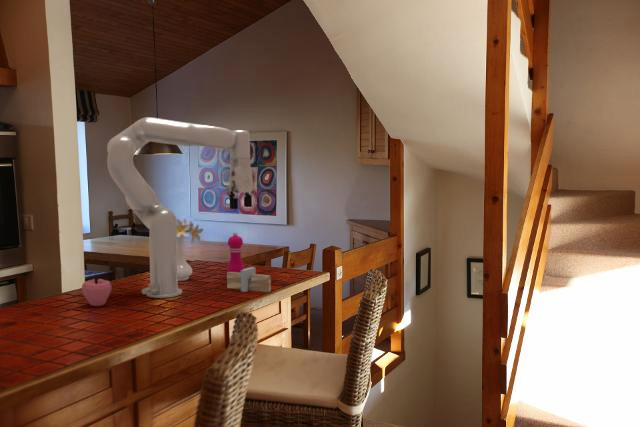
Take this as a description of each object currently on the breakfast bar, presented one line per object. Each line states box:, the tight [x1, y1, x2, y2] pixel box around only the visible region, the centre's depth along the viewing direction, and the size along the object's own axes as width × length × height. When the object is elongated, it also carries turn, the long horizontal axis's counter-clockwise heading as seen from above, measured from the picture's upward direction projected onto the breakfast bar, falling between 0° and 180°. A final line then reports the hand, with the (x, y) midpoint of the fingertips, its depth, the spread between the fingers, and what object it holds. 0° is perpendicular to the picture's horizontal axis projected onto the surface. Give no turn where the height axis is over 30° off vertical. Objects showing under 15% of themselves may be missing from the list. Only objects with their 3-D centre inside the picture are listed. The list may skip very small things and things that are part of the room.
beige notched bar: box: [226, 271, 272, 294], centre depth 220 cm, size 2×18×6 cm, turn 64°
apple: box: [81, 277, 113, 307], centre depth 198 cm, size 10×9×10 cm
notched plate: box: [240, 266, 257, 293], centre depth 220 cm, size 2×7×8 cm, turn 154°
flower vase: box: [176, 218, 204, 282], centre depth 239 cm, size 13×18×25 cm
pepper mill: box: [226, 231, 246, 273], centre depth 235 cm, size 7×7×20 cm
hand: (241, 207), depth 224 cm, fingers open, 9 cm apart
